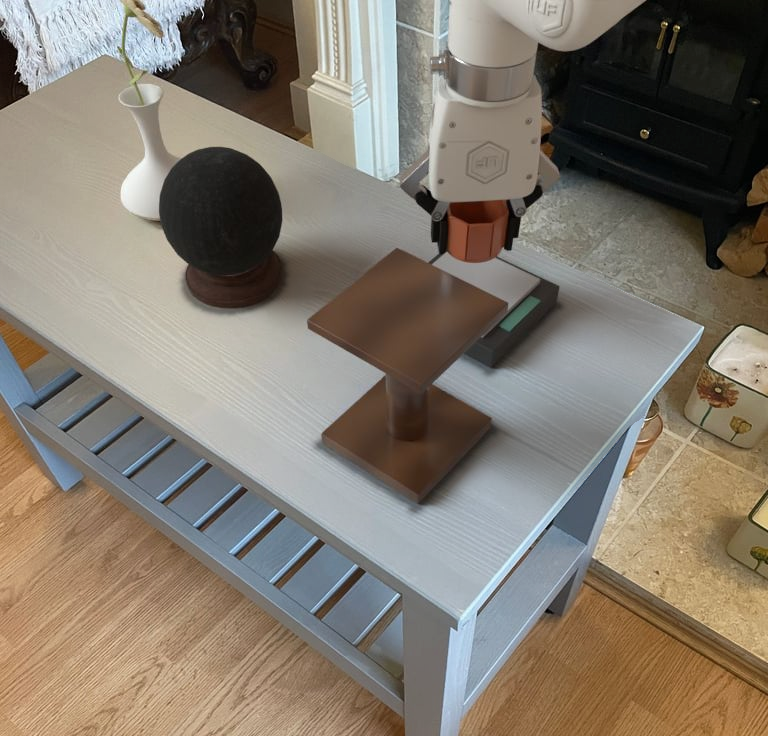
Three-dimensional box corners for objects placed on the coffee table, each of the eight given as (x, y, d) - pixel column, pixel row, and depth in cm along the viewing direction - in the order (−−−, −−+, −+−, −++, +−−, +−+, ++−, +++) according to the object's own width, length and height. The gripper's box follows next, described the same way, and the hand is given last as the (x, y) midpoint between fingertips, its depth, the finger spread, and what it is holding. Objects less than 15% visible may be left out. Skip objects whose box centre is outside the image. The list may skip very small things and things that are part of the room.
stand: (491, 427, 80) (509, 302, 67) (417, 504, 75) (421, 385, 62) (397, 374, 85) (396, 246, 72) (321, 443, 80) (306, 319, 66)
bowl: (497, 224, 86) (502, 186, 82) (507, 261, 82) (512, 223, 79) (441, 228, 86) (443, 190, 82) (447, 264, 82) (450, 227, 78)
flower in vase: (220, 221, 100) (173, 2, 80) (127, 236, 99) (56, 18, 78) (206, 163, 108) (160, -51, 87) (120, 177, 106) (53, -38, 85)
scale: (556, 303, 91) (561, 281, 88) (491, 368, 85) (493, 347, 83) (456, 254, 96) (457, 233, 93) (388, 313, 90) (387, 291, 88)
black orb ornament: (300, 244, 97) (286, 125, 85) (277, 318, 90) (258, 199, 78) (195, 236, 99) (166, 117, 86) (163, 309, 91) (127, 190, 79)
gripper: (393, 96, 67) (393, 272, 82) (599, 86, 67) (562, 263, 82) (386, 51, 71) (388, 226, 86) (580, 42, 71) (548, 217, 86)
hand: (473, 242), depth 84 cm, fingers closed on bowl, 6 cm apart
